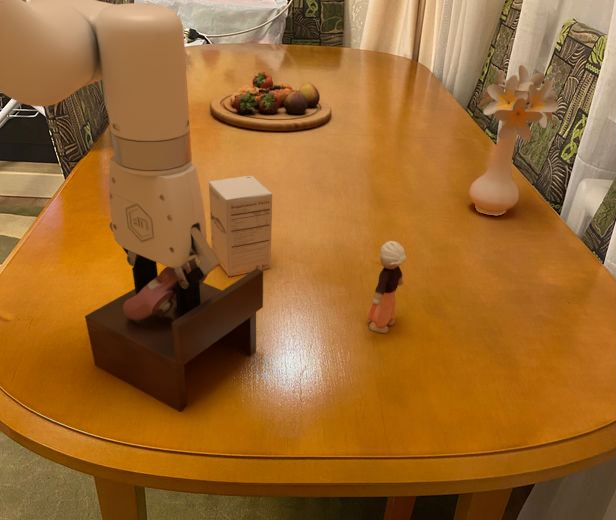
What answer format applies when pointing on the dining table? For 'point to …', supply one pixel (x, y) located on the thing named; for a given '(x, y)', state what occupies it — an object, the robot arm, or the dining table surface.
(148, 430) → the dining table surface
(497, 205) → the flower vase
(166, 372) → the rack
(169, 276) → the pink toy car
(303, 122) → the wooden plate
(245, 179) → the white packaging box
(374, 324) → the grandmother figurine
